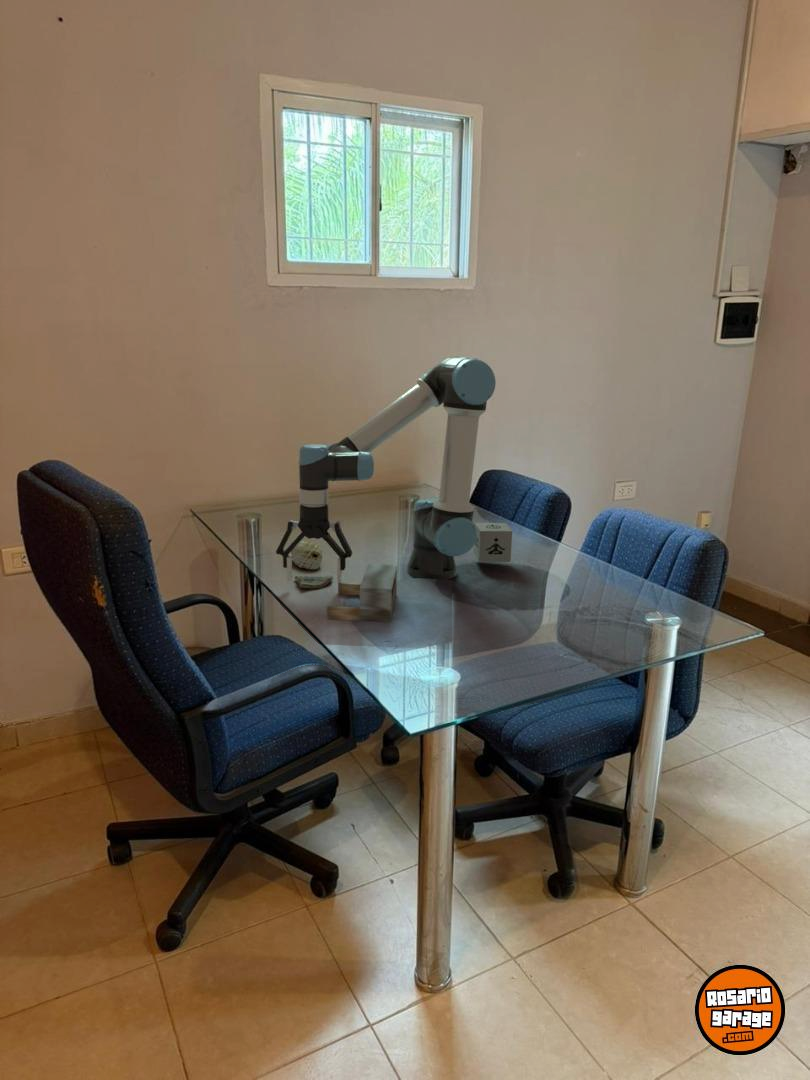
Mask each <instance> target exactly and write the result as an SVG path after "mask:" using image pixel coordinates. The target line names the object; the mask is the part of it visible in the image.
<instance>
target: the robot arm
mask: <svg viewBox="0 0 810 1080" xmlns="http://www.w3.org/2000/svg"><path fill="white" fill-rule="evenodd" d="M495 390H496V376H495V373H494V371H493V369H492V368H491V367H490V366H489V364H488V363H487V362H485V361H483V360H481V359H478V358H474V357H463V356H462V357H461V356H451V357H447V358H445V359H444V360H442V361H441V362H440V361H439V363H438V364H435V366H434V367H432V368H430V369H429V370H428V371H427V372H426V373H424V374H423V375H422V376H421V377H418V379H417V381H416V385H414V386H413V387H412V388H410V389H409V390H407V391H406V392H405V393H404V394H402V395H401V396H399V397H398V398H397V399H395V400H394V401H393V402H391V403H390V404H389V405H387V406H386V407H385V408H383V409H381V411H379V412H378V413H377V414H375V415H374V416H373V417H371V418H370V419H369V420H367V421H365V422H364V423H363V424H362V425H360V426H359V427H358V428H356V429H355V430H354V431H353V432H351V433H350V434H348V435H347V436H346V437H344V438H343V439H341V440H340V441H338V442H333V443H331V444H328V446H327V445H325V444H319V443H318V444H316V443H315V444H313V443H312V444H310V443H309V444H304V445H302V446H301V447H300V449H299V458H298V465H299V466H298V467H299V468H298V469H299V471H298V472H299V473H298V474H299V475H298V476H299V503H300V505H299V521H298V520H297V521H296V520H294V519H289V521H288V522H287V527H286V530H285V532H284V536H282V538H281V541H280V543H279V545H278V546H277V549H276V550H275V553H276V555H281V556H282V564H283V565H282V567H283V568H284V569H286V581H291V580H292V578H293V566H292V565H293V562H292V561H293V559H292V555H291V551H292V550H293V549H294V547H295V546H296V545H297V544H298V543H299V542H300V541H302V540H303V539H304V538H305V537H306V538H307V539H316V540H319V539H323V541H325V542H326V543H327V544H328V546H329V547H330V549H332V550H333V552H334V553H335V554H336V555H337V556H338V558H337V559H336V561H337V562H336V563H337V566H336V567H337V569H336V570H337V571H336V572H337V574H336V575H337V578H336V579H337V582H336V583H337V584H338V583H340V582H342V573H343V572H342V571H345V569H346V566H347V565H346V563H347V561H346V559H348V558H352V555H353V551H352V549H351V546H350V545H349V543H348V540H347V539H346V537H345V535H344V533H343V531H342V527H341V522H340V521H338V520H337V521H336V522H330V521H329V504H328V502H329V482H338V481H339V482H345V481H346V482H347V481H349V482H350V481H358V482H360V481H365V480H366V481H367V480H371V479H372V478H373V476H374V471H375V463H374V461H375V460H374V458H373V455H372V453H371V452H373V451H374V450H376V449H377V448H379V446H381V445H382V444H384V443H385V442H386V441H388V440H389V439H390V438H392V437H393V436H394V435H397V433H398V432H400V431H401V430H402V429H404V428H405V427H407V426H408V425H410V423H412V422H413V421H415V420H416V419H417V418H419V417H421V415H423V414H424V413H426V412H427V411H428V410H430V409H431V408H432V407H433V408H438V407H440V406H441V405H442V407H443V409H444V410H445V411H446V412H447V419H446V430H445V437H444V440H445V441H444V447H443V448H444V450H443V456H442V466H441V476H440V486H439V493H438V498H425V499H419V500H416V501H415V502H414V507H413V543H412V544H413V545H412V551H411V554H410V556H409V560H408V562H407V564H406V572H407V573H408V575H409V576H411V577H412V578H414V579H419V580H420V579H423V580H425V579H426V580H445V581H447V580H450V579H452V578H454V577H456V576H457V570H458V569H457V564H456V560H455V558H454V557H460V556H463V555H465V554H467V553H468V552H469V551H470V550H472V548H474V544H475V542H476V539H477V530H476V527H475V523H474V522H473V519H474V512H475V509H474V507H473V506H472V505H471V503H470V498H471V489H472V481H473V474H474V473H473V472H474V464H475V456H476V448H477V447H476V446H477V439H478V431H479V420H480V418H481V415H483V414H484V413H485V412H486V410H487V403H488V400H489V399H491V398H492V397H493V395H494V392H495ZM297 527H298V528H299V530H300V532H301V533H300V534H298V536H297V537H296V538H295V539H294V540H292V541H293V543H292V544H291V543H290V544H289V546H288V547H287V548H286V549H284V547H285V546H286V544H287V542H288V540H289V538H290V536H291V534H292V532H293V531H294V530H295V529H296V528H297ZM330 528H331V529H332V531H333V532H335V535H336V537H337V539H338V541H339V543H340V545H341V547H340V546H339V544H338V543H337V542H336V541H335V539H334V538H333V537H332V536H331V534H330V532H328V530H329V529H330ZM342 548H343V549H342Z"/></svg>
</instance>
